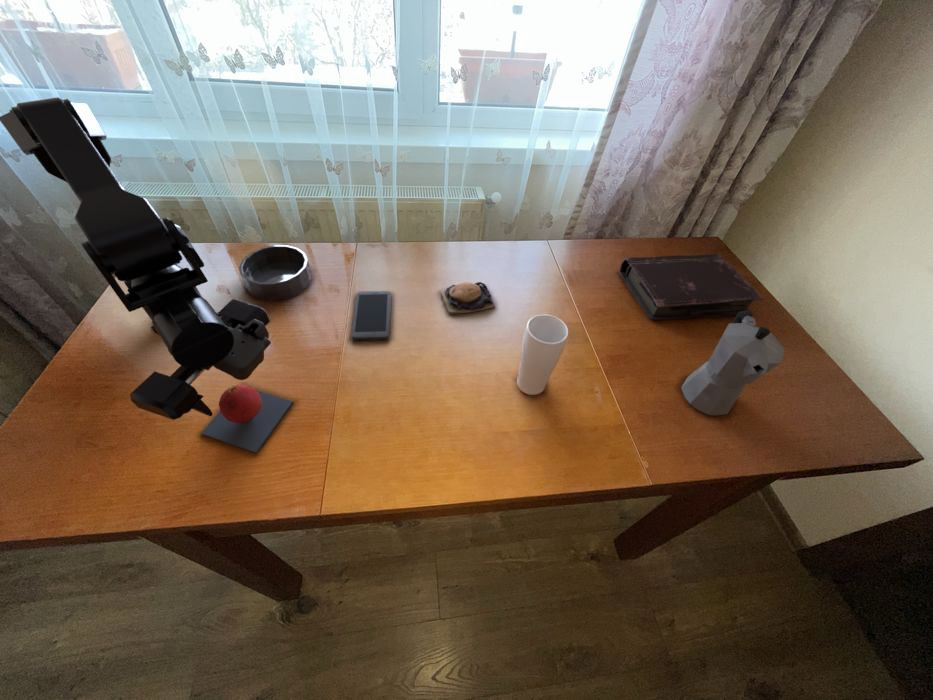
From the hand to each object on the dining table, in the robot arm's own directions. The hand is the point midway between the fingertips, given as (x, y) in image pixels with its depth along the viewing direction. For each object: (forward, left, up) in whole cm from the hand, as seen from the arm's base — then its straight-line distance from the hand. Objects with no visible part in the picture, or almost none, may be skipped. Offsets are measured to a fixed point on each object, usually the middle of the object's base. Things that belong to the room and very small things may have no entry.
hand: (231, 389), depth 60 cm
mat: (0, 0, -8) cm, 8 cm away
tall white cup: (+43, +23, -8) cm, 49 cm away
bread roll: (+25, +41, -8) cm, 49 cm away
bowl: (-16, +32, -8) cm, 37 cm away
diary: (+72, +62, -8) cm, 95 cm away
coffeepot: (+75, +33, -8) cm, 82 cm away
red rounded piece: (0, 0, -8) cm, 8 cm away
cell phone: (+8, +29, -8) cm, 31 cm away
